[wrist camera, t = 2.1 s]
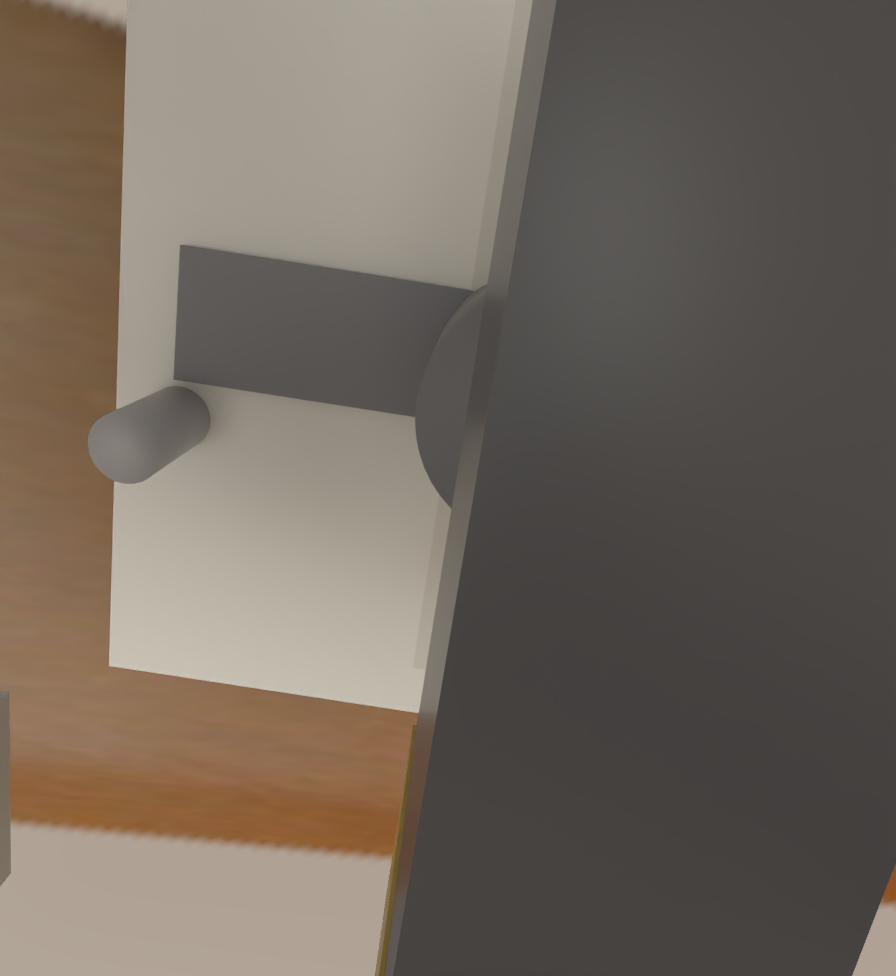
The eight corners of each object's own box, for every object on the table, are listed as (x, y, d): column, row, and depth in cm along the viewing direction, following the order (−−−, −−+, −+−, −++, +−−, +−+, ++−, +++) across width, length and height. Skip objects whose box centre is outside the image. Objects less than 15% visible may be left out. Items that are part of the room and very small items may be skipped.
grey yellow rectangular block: (539, -90, 11) (750, -1255, 2) (752, -57, 11) (1683, -1097, 2) (401, 784, 15) (304, 1465, 6) (555, 807, 15) (653, 1516, 7)
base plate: (160, -152, 18) (-80, -457, 10) (1036, -12, 18) (1452, -207, 10) (131, 640, 24) (-36, 828, 16) (793, 741, 24) (942, 975, 16)
